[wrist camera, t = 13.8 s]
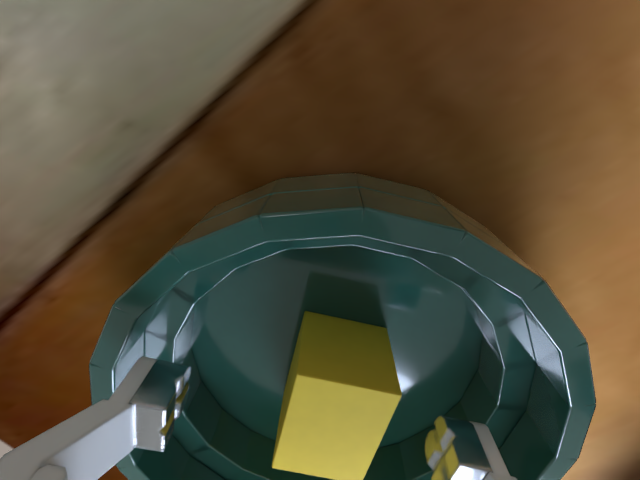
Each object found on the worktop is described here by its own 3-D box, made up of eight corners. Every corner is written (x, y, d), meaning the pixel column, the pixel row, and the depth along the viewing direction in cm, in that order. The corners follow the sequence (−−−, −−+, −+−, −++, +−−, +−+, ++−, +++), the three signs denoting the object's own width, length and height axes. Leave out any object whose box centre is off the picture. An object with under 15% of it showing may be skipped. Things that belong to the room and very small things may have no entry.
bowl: (162, 122, 12) (71, 138, 8) (597, 226, 13) (722, 290, 9) (151, 432, 18) (99, 530, 14) (438, 485, 19) (466, 591, 15)
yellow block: (305, 309, 14) (296, 373, 11) (387, 327, 14) (402, 395, 11) (283, 393, 16) (271, 468, 13) (355, 408, 16) (361, 485, 13)
